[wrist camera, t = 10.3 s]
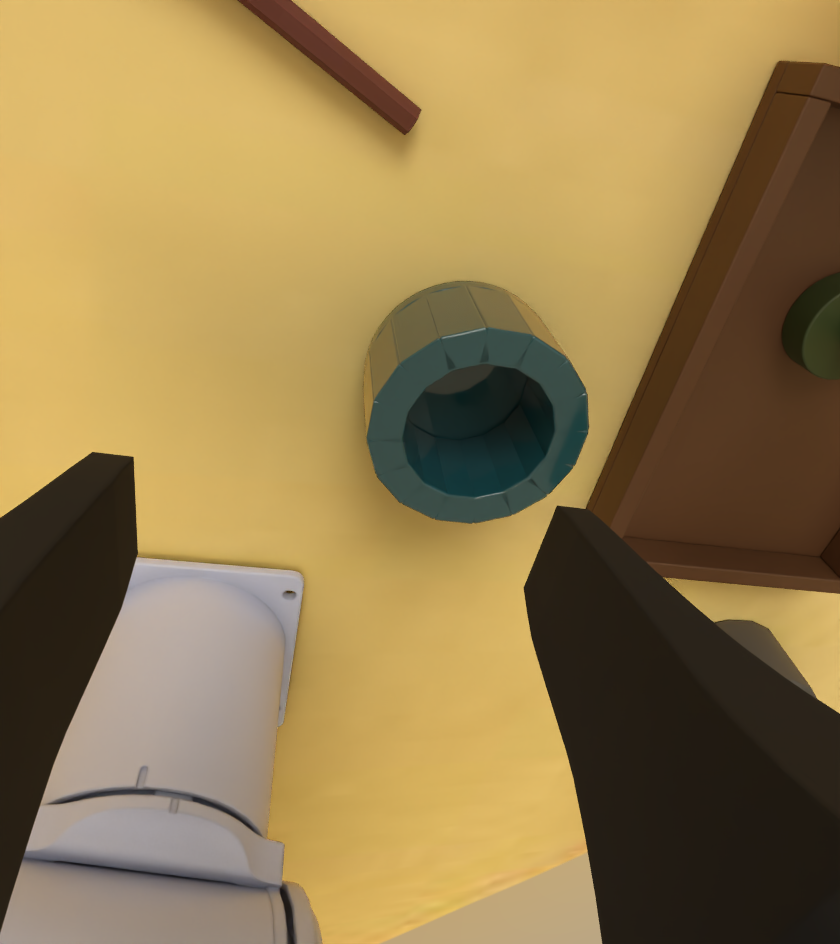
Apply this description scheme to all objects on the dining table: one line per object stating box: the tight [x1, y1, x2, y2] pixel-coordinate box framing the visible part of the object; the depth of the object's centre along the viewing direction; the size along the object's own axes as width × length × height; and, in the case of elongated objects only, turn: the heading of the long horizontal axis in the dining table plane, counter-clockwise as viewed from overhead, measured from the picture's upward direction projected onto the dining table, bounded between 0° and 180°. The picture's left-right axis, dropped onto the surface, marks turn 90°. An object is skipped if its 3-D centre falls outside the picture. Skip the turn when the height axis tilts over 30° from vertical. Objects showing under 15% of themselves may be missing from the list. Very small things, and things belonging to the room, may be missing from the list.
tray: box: [587, 61, 840, 594], centre depth 22 cm, size 16×11×2 cm
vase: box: [363, 281, 589, 524], centre depth 20 cm, size 6×6×4 cm
